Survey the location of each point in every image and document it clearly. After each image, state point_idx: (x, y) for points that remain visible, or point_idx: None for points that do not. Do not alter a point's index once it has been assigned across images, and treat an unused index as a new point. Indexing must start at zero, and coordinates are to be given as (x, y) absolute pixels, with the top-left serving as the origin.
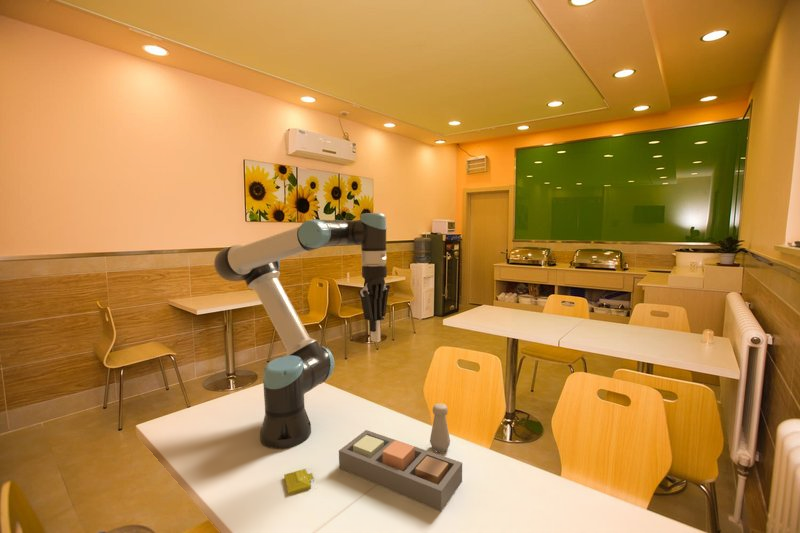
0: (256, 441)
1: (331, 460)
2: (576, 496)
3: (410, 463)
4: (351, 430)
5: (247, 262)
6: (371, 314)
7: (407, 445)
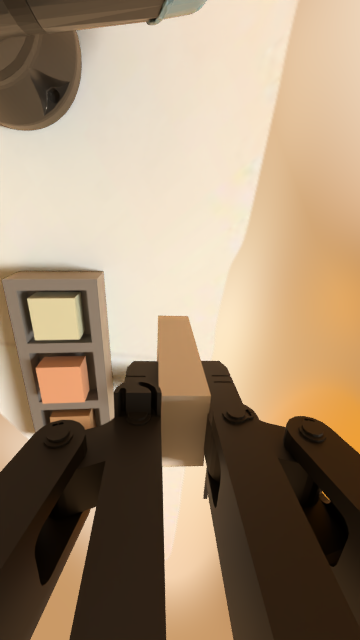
0: None
1: (25, 241)
2: (165, 517)
3: (90, 376)
4: (131, 204)
5: None
6: (39, 566)
7: (80, 391)
